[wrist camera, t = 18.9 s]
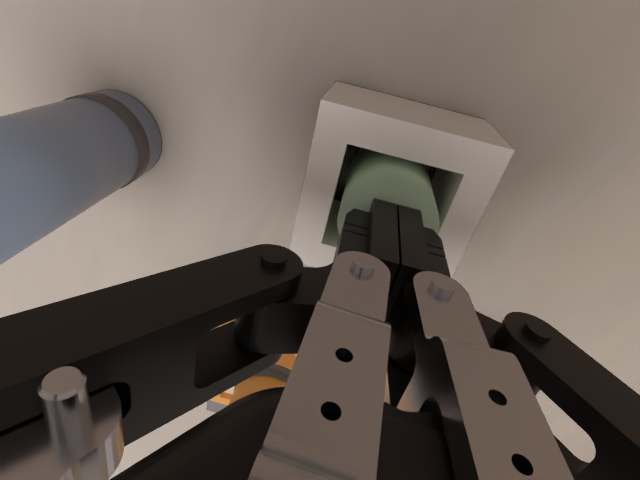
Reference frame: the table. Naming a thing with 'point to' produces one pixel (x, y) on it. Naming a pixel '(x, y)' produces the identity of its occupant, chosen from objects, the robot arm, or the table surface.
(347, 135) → the button housing
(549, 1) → the table surface
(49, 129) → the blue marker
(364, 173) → the button
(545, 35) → the table surface
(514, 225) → the table surface
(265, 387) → the orange marker
